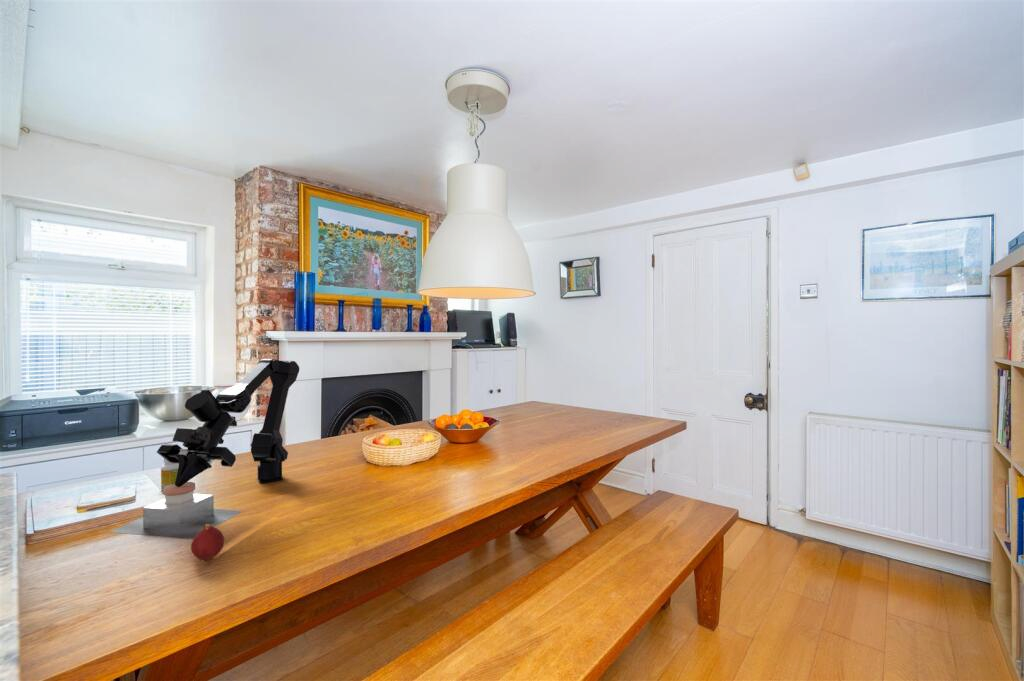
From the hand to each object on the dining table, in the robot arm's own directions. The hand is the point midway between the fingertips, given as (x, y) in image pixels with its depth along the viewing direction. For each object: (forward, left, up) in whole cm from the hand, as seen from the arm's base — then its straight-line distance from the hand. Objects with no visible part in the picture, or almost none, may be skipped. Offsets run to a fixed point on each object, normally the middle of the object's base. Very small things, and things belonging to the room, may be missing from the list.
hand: (177, 485), depth 111 cm
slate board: (0, 0, -10) cm, 10 cm away
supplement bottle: (+3, -32, -10) cm, 34 cm away
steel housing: (0, 0, -9) cm, 9 cm away
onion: (-7, +24, -10) cm, 27 cm away
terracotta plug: (0, 0, -7) cm, 7 cm away
